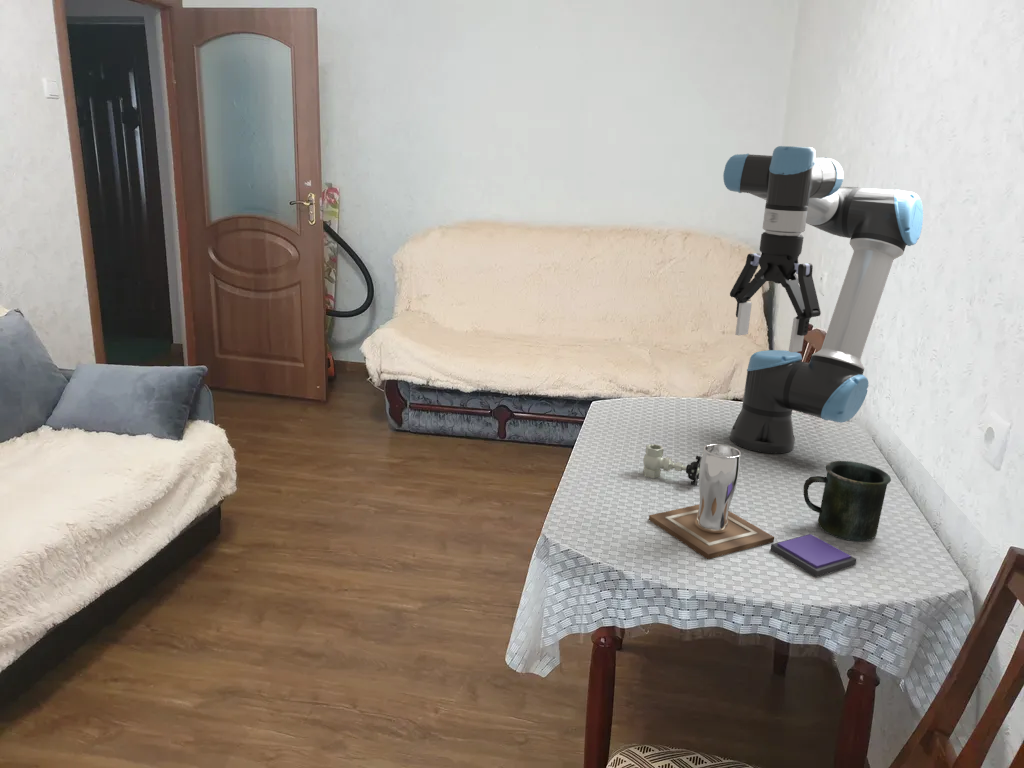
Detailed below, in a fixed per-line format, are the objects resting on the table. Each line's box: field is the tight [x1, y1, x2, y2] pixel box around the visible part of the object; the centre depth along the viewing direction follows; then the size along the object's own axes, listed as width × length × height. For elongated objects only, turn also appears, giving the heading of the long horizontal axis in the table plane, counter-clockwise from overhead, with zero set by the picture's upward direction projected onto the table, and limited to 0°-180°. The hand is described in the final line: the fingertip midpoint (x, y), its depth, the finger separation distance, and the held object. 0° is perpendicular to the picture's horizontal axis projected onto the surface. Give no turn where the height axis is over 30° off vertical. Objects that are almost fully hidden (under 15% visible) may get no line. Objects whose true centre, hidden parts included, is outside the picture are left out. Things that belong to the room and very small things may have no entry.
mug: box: [803, 460, 892, 542], centre depth 146 cm, size 11×15×12 cm
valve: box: [642, 443, 702, 487], centre depth 165 cm, size 7×7×12 cm
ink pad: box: [769, 533, 858, 578], centre depth 135 cm, size 10×10×2 cm
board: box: [648, 504, 775, 560], centre depth 143 cm, size 16×16×1 cm
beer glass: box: [695, 443, 742, 534], centre depth 141 cm, size 7×7×15 cm
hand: (767, 342), depth 151 cm, fingers open, 13 cm apart
